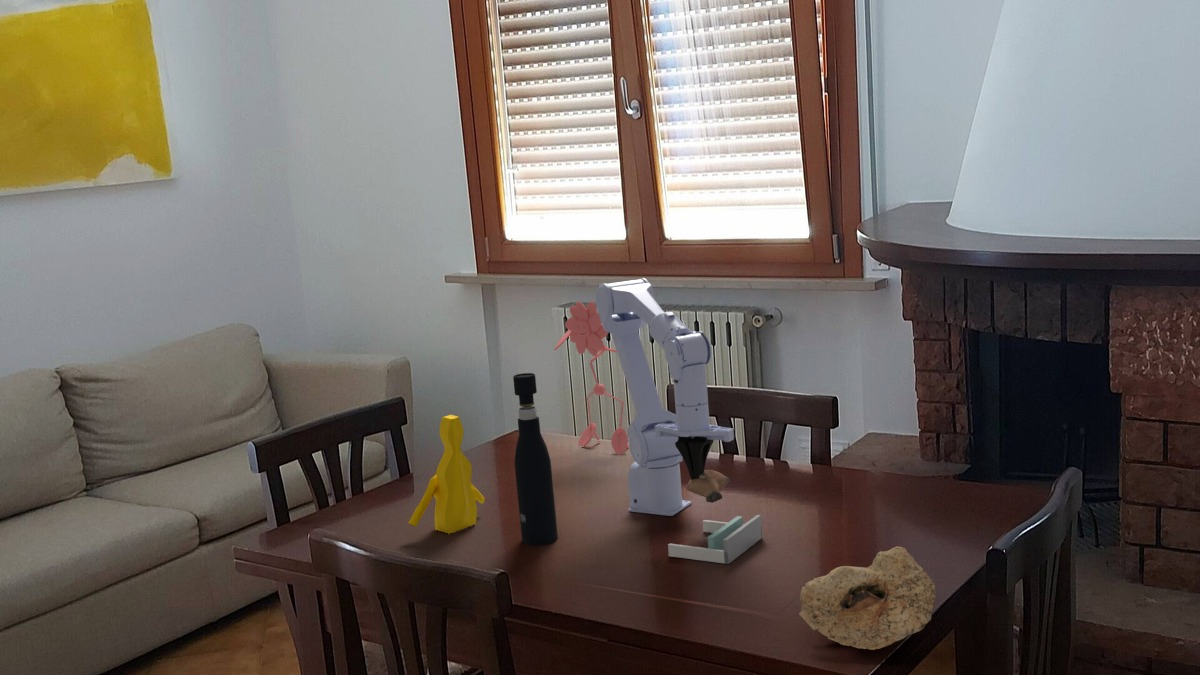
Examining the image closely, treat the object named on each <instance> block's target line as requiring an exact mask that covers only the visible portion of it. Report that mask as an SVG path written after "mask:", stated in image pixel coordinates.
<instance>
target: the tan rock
mask: <svg viewBox="0 0 1200 675" xmlns="http://www.w3.org/2000/svg"><path fill="white" fill-rule="evenodd" d="M799 593H800V594H799V596H800V598H799V601H800V605H801V609H800V612H799V613H798V614H799V616H800V617H802V619H803V620H804V621H805V622H806V624H808V626H809V627H810V628H811V629H812V630H813V631H816V630H817V631H818V632H819V633H821V634H822V635H823V636H825V637H827V639H828V640H830V641H834V642H835V643H838V644H840V645H842V646H847V647H850V646H851V647H853V648H857V649H863V650H866V649H868V650H870V651H871V650H873V651H876V650H877V649H878V650H879V649H882V648H885V647H886V648H887V647H888V646H890V645H893V644H894V643H896V642H898V641H901V640H903V639H904V638H906V637H908V636H909V635H912V634H916V633H918V632H920V631H922V630H924V629H925V627H926V626H927V624H928V623H929V622H930V621H931V620H932V613H933V609H934V603H935V598H936V596H937V592H936V584H935V582H934V580H933V579H932V578H931V577H930V575H928V574H927V572H926V570H925V569H924V568H923V567H922V566H921V565H919V564H918V562H917V561H915V558H914V557H913V556H912V555H911V554H910V553H909V552H908V551H907V549H906V548H905V547H902V546H895V547H893V548H891V549H889V550H885V551H879V552H877V553H876V555H875V557H874V559H873V560H872V564H870V565H869V566H867V567H863V566H862V567H861V566H850V565H843V566H842V565H841V566H838V567H835V568H834V569H832V570H830V572H829V573H827V574H826V575H822V576H818V577H816V578H815V577H814V578H813V580H811V579H810V580H808V581H806V582H805V585H804V586H802V588H801V590H800V592H799Z"/></svg>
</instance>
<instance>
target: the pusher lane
mask: <svg viewBox="0 0 1200 675" xmlns="http://www.w3.org/2000/svg"><path fill="white" fill-rule="evenodd" d="M727 523H728V522H726V521H718V520H717V521H716V520H710V519H703V520H702V531H703V533H709V532H710V534H713V533H714V532H715V531H717V530H718V529H720V528H721V527H723V526H724V525H725V524H727ZM762 523H763V522H762V514H756V515H755V516H754V517H752V518H751V519H750V520H748V521H747V522H745V523H743V526H741V527H740V528H738V529H737V530H736V531H734V532H733V533H732V534H730V535H729V536H728V537H726V538H725V539H723V548H724V550H718V549H710V548H708V547H701V546H694V545H693V546H692V545H687V544H686V545H685V544H676V543H668V544H667V548H668V550H667V551H668V557H673V558H681V559H690V560H696V561H703V562H712V563H719V564H726V565H729V564H730V563H731V564H732V562H733V561H735V560H736V559H737V558H738V557H740V556H741V555H742V554H743V553H745V552H746V551H747V550H748V549H750V548H751V547H753V546H754V545H755V544H756V543H757V542H759V541H760V540H762V539H763V526H762V525H763V524H762Z"/></svg>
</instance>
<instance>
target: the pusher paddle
mask: <svg viewBox="0 0 1200 675" xmlns="http://www.w3.org/2000/svg"><path fill="white" fill-rule="evenodd" d="M743 520H744V517H743V516H741V515H736V516H735V517H733V518H732V519H731V520H730V521H728V522H727V524H725V525H724V526H723V527H721V528H720V529H718V530H717V531H715V532H714V533H710V535H708V536H707V546H708V547H707V548H710V549H718V550H724V548H723V539H725V538H726V537H728V536H729V535H730V534H732V533H733V532H734V531H736V530H737V529H738V528H740V527H741V526H743V524H744V521H743Z"/></svg>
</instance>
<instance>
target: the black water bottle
mask: <svg viewBox="0 0 1200 675" xmlns="http://www.w3.org/2000/svg"><path fill="white" fill-rule="evenodd" d="M512 378H513V389H514V395H515V396H518V402H519V403H518V404H519V406H520V407H518V411H517V413H518V419H517V424H518V426H517V427H518V428H517V429H518V437H517V442H516V446H515V451H514V472H515V473H514V474H515V485H516V493H517V503H518V512H519V513H518V514H519V524H520V531H521V532H520V534H521V542H522V544H524V545H526V546H531V547H534V546H535V547H538V546H539V547H540V546H545V545H550V544H553V543H555V542H556V541H557V540H558V539H559V535H558V525H557V515H556V512H557V511H556V505H555V504H556V502H555V493H554V482H553V472H552V462H551V461H552V460H551V458H550V452H549V448H548V446H547V444H546V442H545V439H544V437H543V435H542V433H541V426H540V424H541V423H540V417H539V416H538V413H537V411H538V409H537V406H534V405H535V402H534V401H535V400H534V399H535V398H534V394H537V392H538V391H537V379H536V374H535V373H533V372H532V373H531V372H526V373H517V374H515V375H513V377H512Z"/></svg>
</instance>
